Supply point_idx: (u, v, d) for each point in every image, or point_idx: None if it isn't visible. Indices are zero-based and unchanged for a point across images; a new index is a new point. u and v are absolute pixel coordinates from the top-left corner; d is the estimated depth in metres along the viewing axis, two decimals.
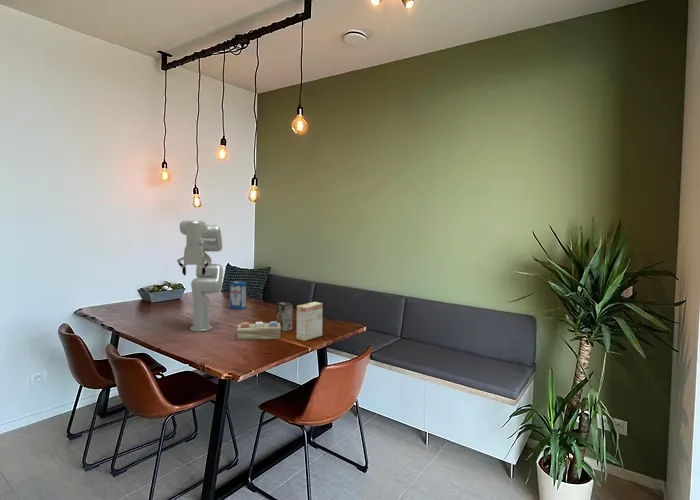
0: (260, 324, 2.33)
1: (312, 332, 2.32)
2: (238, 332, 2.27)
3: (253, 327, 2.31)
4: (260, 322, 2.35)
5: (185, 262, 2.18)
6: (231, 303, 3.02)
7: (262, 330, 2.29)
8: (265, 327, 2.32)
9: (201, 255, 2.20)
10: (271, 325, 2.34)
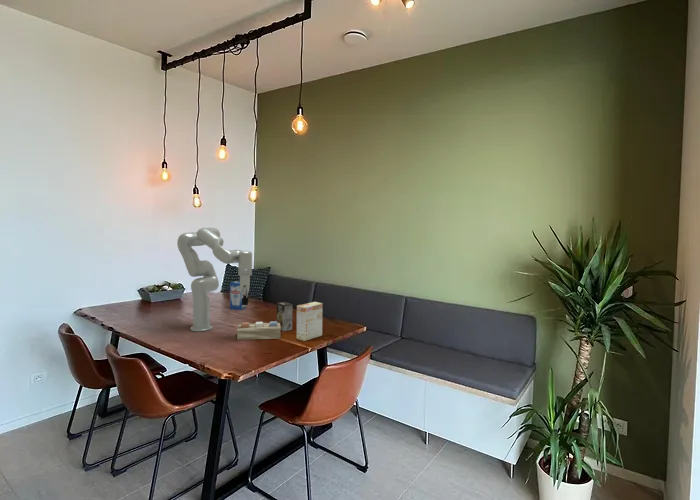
0: (260, 324, 2.33)
1: (312, 332, 2.32)
2: (238, 332, 2.27)
3: (253, 327, 2.31)
4: (260, 322, 2.35)
5: (248, 290, 2.28)
6: (231, 303, 3.02)
7: (262, 330, 2.29)
8: (265, 327, 2.32)
9: None
10: (271, 325, 2.34)
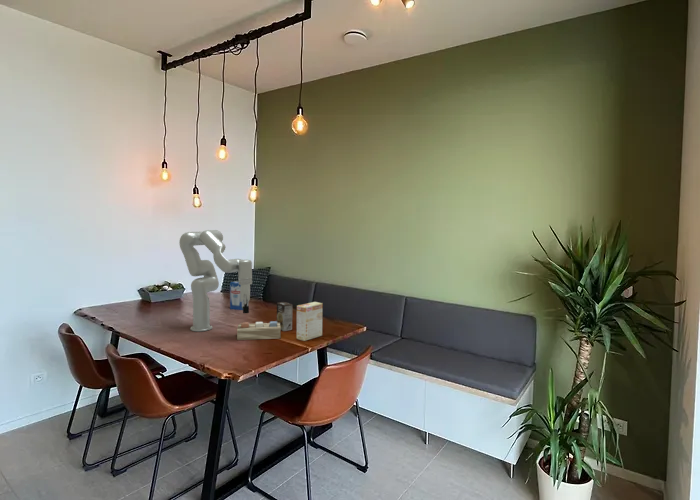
0: (260, 324, 2.33)
1: (312, 332, 2.32)
2: (238, 332, 2.27)
3: (253, 327, 2.31)
4: (260, 322, 2.35)
5: None
6: (231, 303, 3.02)
7: (262, 330, 2.29)
8: (265, 327, 2.32)
9: None
10: (271, 325, 2.34)
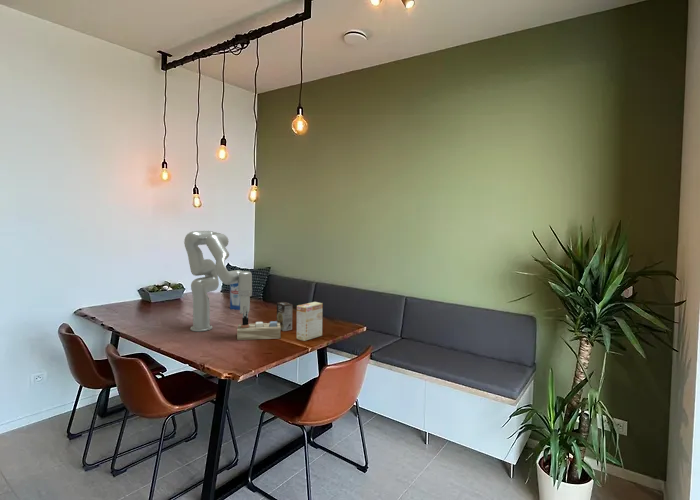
0: (260, 324, 2.33)
1: (312, 332, 2.32)
2: (238, 332, 2.27)
3: (253, 327, 2.31)
4: (260, 322, 2.35)
5: (248, 311, 2.29)
6: (231, 303, 3.02)
7: (262, 330, 2.29)
8: (265, 327, 2.32)
9: None
10: (271, 325, 2.34)
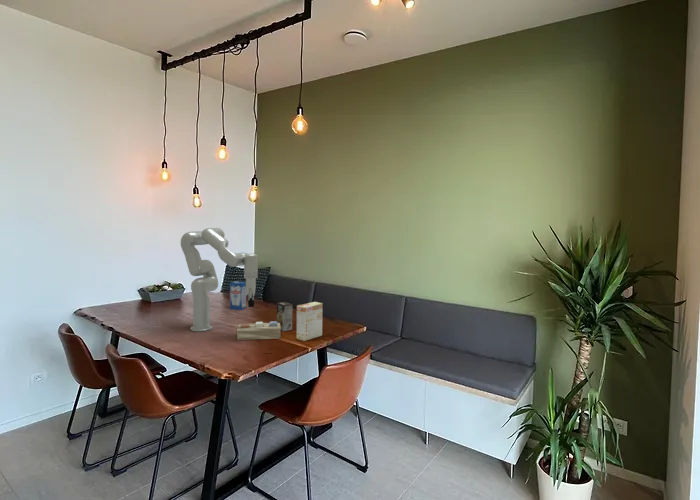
0: (260, 324, 2.33)
1: (312, 332, 2.32)
2: (238, 332, 2.27)
3: (253, 327, 2.31)
4: (260, 322, 2.35)
5: (254, 293, 2.29)
6: (231, 303, 3.02)
7: (262, 330, 2.29)
8: (265, 327, 2.32)
9: None
10: (271, 325, 2.34)
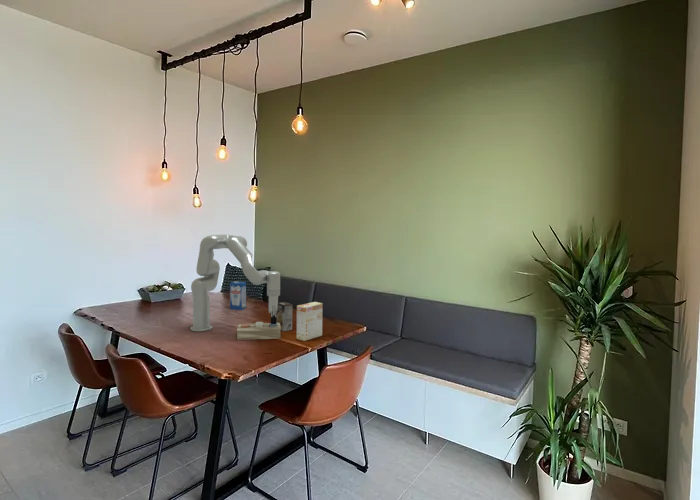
0: (260, 324, 2.33)
1: (312, 332, 2.32)
2: (238, 332, 2.27)
3: (253, 327, 2.31)
4: (260, 322, 2.35)
5: None
6: (231, 303, 3.02)
7: (262, 330, 2.29)
8: (265, 327, 2.32)
9: None
10: (271, 326, 2.34)
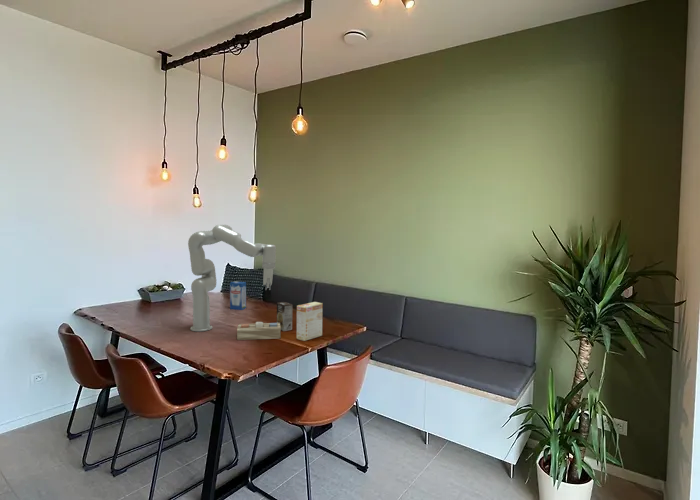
0: (260, 324, 2.33)
1: (312, 332, 2.32)
2: (238, 332, 2.27)
3: (253, 327, 2.31)
4: (260, 322, 2.35)
5: (271, 283, 2.33)
6: (231, 303, 3.02)
7: (262, 330, 2.29)
8: (265, 327, 2.32)
9: None
10: (271, 326, 2.34)
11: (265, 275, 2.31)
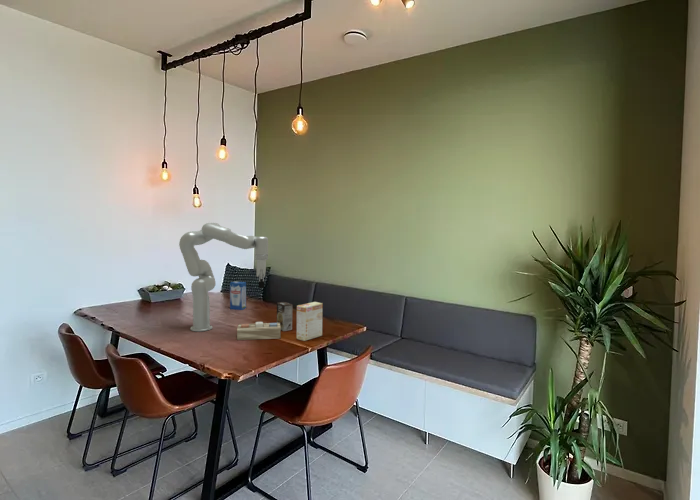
0: (260, 324, 2.33)
1: (312, 332, 2.32)
2: (238, 332, 2.27)
3: (253, 327, 2.31)
4: (260, 322, 2.35)
5: (264, 274, 2.37)
6: (231, 303, 3.02)
7: (262, 330, 2.29)
8: (265, 327, 2.32)
9: None
10: (271, 326, 2.34)
11: (258, 266, 2.35)
